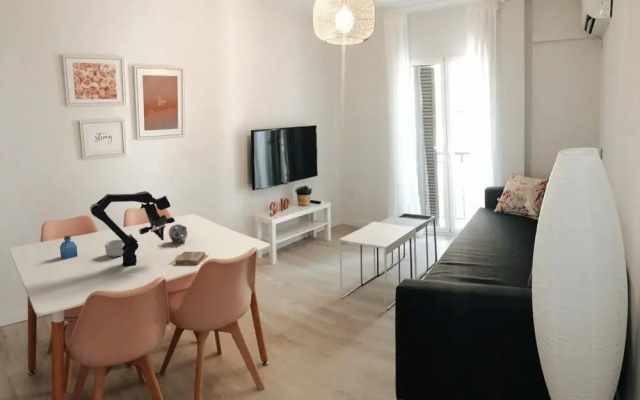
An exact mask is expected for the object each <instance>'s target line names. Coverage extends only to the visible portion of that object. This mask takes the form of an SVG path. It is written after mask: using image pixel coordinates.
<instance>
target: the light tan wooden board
mask: <svg viewBox="0 0 640 400" xmlns="http://www.w3.org/2000/svg"><path fill="white" fill-rule="evenodd" d="M180 255H181V254H177V255H176V256H175V257H174V258H172V260H171V261H170V262H169V263H168V265H176V266H177V265H183V266H186V265H187V266H188V265H189V266H190V265H192V266H200V265H203V263H204V262H205V260H206V259H207V258H208V257H210V255H209V254H205V257H204V258H203V259H202V260H201V262H200V263H199V264H198V265H196V264H176V259H177V258H178V257H179V256H180Z"/></svg>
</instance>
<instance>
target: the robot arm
mask: <svg viewBox="0 0 640 400" xmlns="http://www.w3.org/2000/svg"><path fill="white" fill-rule="evenodd" d="M119 202H120V203H121V202H136V203H141V206H140V207H139V209H140V210H141V209H144V212H145V214H146V217H147V219H148V222H149V224H150V226H145V227H141V228H139V230H138V232H139V234H140V235H145V234H147V233H149V232H151V233H154V234H155V235H156V236H157V237H158V238H159V239H160V240H161V241H164V240H165V239H164V231H165V228H166V225H168V224H173V223H174V222H175V223H176V220H175V218H174V217H173V216H171V217H167V215H165V214H162V215H160V213H159V212H158V210H159V211H164V210H166V209H168V208H171V203H170V201H169V199H168V197H167V196H166V195H163V196H162V197H159V198H156V197H153V195H152V194H151V193H150V192H149V191H146V190H144V191H139V192H135V193H107V194H105V195H104V196H103V197H102V198H101V199H100V200H98V201H97V202H95V203H93V204H91V205H90V207H89V211H90V213H91V215H92V216H93V217H94V218H97V219H98V220H100V221H101V222H103V223H104V224H105V225H106V226H107V227H108V228H109V229H110V230H111V231H112V232H113V233H114V234H115V235H116V236H117V237H118V239H119V240H122V241H123V243H124V244H125V245H124V246H123V247H122V251H123V252H124V253H122V255H121V256H122V267H129V266H137V263H138V260H137V254H136V252H137V250H138V249H139V243H138V242H139V241H138V240H137V238H136V237H133V235H132V234H131V233H130V234H127V233H126V232H125V231H124V230H122V228H120V226H119V225H118V224H117V223H116V222H114V220H113V219H111V217H110V216H109V215H108V214H107V212H106V211H105V210H106V208H108V206H110V204H111V203H119Z"/></svg>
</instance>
